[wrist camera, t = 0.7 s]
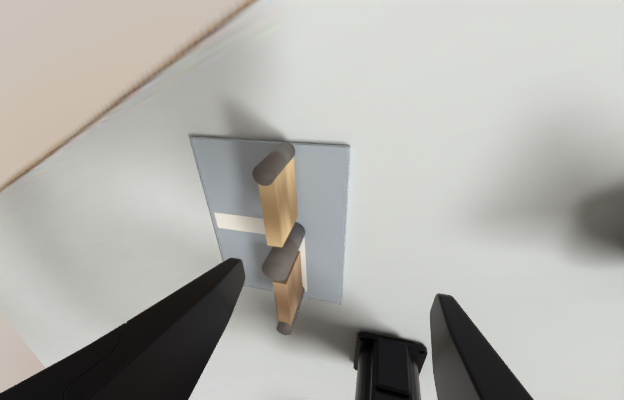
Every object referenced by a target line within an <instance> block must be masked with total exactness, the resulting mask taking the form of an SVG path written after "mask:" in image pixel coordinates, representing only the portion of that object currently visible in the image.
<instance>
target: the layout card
mask: <svg viewBox="0 0 624 400" xmlns="http://www.w3.org/2000/svg"><path fill="white" fill-rule="evenodd" d="M190 140H191V144H192V147H193V151H194V155H195V158H196V162H197V166H198V169H199V173H200V177H201V180H202V184H203V188H204V191H205V195H206V199H207V202H208V206H209V209H210V213H211V217H212V220H213V224H214V228H215V231H216V235H217V239H218V242H219V246H220V250H221V253H222V257H223V260H224V261H225V260H227V259H229V258H238V259H241V260H242V262H243V266H244V271H245V282H244V285H243V286H248V287H254V288H259V289H264V290H269V291H274V287H273V281H274V280H272V279H270V278H268V277H267V276H266V275H265V274H264V273H263V271H262V265H263V263H264V261H265V259H266V257H267V256H268V254H269V252H270V250H271V249H272V247H273V246H269V245H267V239H266V233H265V226H264V219H263V212H262V206H261V199H260V192H259V185H258V183H257V182H256V181H255V180H254V178H253V175H252V172H253V169H254V168H255V167H256V166H257V165H258V164H259V163H260V162H261V161H262V160H263V159H264V158H265V157H266V156H267V155H268V154H270V153H271V152H272V151H273V150H274V149H275V148H276V147H277V146H278V145H279V144H280V143H282V142H277V141H260V140H243V139H225V138H208V137H192V138H190ZM289 143H291V144H292V145H293V146H294V148H295V155H294V161H295V177H296V193H297V209H298V218H297V220H296V221H295V222H298V223H300V224H301V225H302V226H303V227H304V229H305V236H304V238H303V241H302V243H301V245H300V248H299V250H298V251H300V256H301V272H302V286H303V287H304V289H305V292H304V295H303V297H305V298H310V299H315V300H320V301H326V302H331V303H336V304H341V302H342V287H343V268H344V250H345V232H346V214H347V196H348V177H349V159H350V146H346V145H329V144H312V143H294V142H289Z"/></svg>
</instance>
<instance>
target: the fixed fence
mask: <svg viewBox="0 0 624 400" xmlns="http://www.w3.org/2000/svg"><path fill="white" fill-rule="evenodd" d="M304 236H305V229H304V227H303V226H302V225H301V224H300V223H298V222H295V223H294V225H293V227H292V229H291V231H290V233H289V235H288V237H287V239H286V241H285V243H284V245H283V247H275V246H273V247H272V249H271V250H270V252H269V254H268V256H267V257H266V259H265V261H264V263H263V265H262V271H263V273H264V274H265V275H266V276H267V277H268V278H270V279H272V280H274V281H273V287H274V293H275V300H276V307H277V314H278V320H279V323H278V326H277V330H278V332H280V333H281V334H284V335H289V334H291V331H292V328H293V325H294V322H295V319H296V316H297V313H298V310H299V307H300V304H301V301H302V298H303V295H304V292H305V289H304V287H303V286H302V272H301V256H300V251H298V250H299V248H300V245H301V243H302V241H303V238H304Z"/></svg>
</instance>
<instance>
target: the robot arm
mask: <svg viewBox="0 0 624 400" xmlns="http://www.w3.org/2000/svg"><path fill="white" fill-rule="evenodd" d="M244 282H245V271H244V266H243V262H242V260H241V259H238V258H229V259H227V260H225V261H224V262H222V263H220V264H219V265H217V266H216V267H214V268H212V269H211V270H209V271H208V272H206V273H204V274H203V275H201V276H200V277H198V278H196V279H195V280H193V281H192V282H190V283H188V284H187V285H185V286H183V287H182V288H180V289H179V290H177V291H175V292H174V293H172V294H171V295H169V296H167V297H166V298H164V299H163V300H161V301H159V302H158V303H156V304H155V305H153V306H151V307H150V308H148V309H146V310H145V311H143V312H142V313H140V314H138V315H137V316H135V317H134V318H132V319H130V320H129V321H127V323H124V324H122V325H121V326H119V327H117V328H116V329H114V330H113V331H111V332H109V333H108V334H106V335H104V336H103V337H101V338H99V339H98V340H96V341H94V342H93V343H91V344H89V345H88V346H86V347H84V348H82V349H80V350H79V351H77V352H75V353H73V354H72V355H70V356H68V357H66V358H64V359H63V360H61V361H59V362H57V363H55V364H53V365H52V366H50V367H48V368H46V369H44V370H42V371H41V372H39V373H37V374H35V375H33V376H31V377H30V378H28V379H26V380H24V381H22V382H21V383H19V384H17V385H15V386H13V387H11V388H9V389H8V390H6V391H4V392H2V393H0V400H188V399H189V397H190V395H191V393H192V391H193V389H194V388H195V386H196V384H197V382H198V380H199V378H200V376H201V374H202V372H203V370H204V368H205V366H206V364H207V363H208V361H209V359H210V357H211V355H212V353H213V351H214V349H215V347H216V345H217V343H218V341H219V340H220V338H221V336H222V334H223V332H224V330H225V328H226V326H227V324H228V322H229V320H230V317H231V315H232V312H233V310H234V307H235V305H236V302H237V300H238V297H239V295H240V292H241V290H242V287H243V285H244ZM430 328H431V345H432V362H433V373H434V380H435V386H436V392H437V398H438V400H533V398H532V397H531V396H530V394H529V393H528V392H527V391H526V389H525V388H524V387H523V386H522V384H521V383H520V382H519V380H518V379H517V378H516V377H515V375H514V374H513V373H512V372H511V370H510V369H509V368H508V366H507V365H506V364H505V363H504V361H503V360H502V359H501V357H500V356H499V355H498V354H497V352H496V351H495V350H494V349H493V347H492V346H491V345H490V343H489V342H488V341H487V340H486V338H485V337H484V336H483V335H482V333H481V332H480V331H479V329H478V328H477V327H476V326H475V324H474V323H473V322H472V321H471V319H470V318H469V317H468V315H467V314H466V313H465V312H464V310H463V309H462V308H461V306H460V305H459V304H458V303H457V301H456V300H455V299H454V298H453V297H452V296H450V295H445V294H440V293H439V294H437V295H436V296H435V299H434V302H433V305H432V308H431V311H430ZM426 356H427V348H426V347H425V346H423V345H419V344H414V343H410V342H405V341H400V340H396V339H391V338H386V337H382V336H377V335H372V334H368V333H363V332H359V333H358V334H357V341H356V350H355V359H354V369H355V370H357V371H358V372H357V383H356V394H355V400H421V394H420V384H419V374H420V372H421V369H422V366H423V364H424V361H425V358H426Z"/></svg>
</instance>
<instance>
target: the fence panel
mask: <svg viewBox="0 0 624 400" xmlns="http://www.w3.org/2000/svg"><path fill="white" fill-rule="evenodd" d="M294 155H295V148H294V146H293V145H292V144H291V143H289V142H282V143H280V144H279V145H278V146H277V147H276V148H275V149H274V150H273V151H272V152H271V153H270V154H268V155H267V156H266V157H265V158H264V159H263V160H262V161H261V162H260V163H259V164H258V165H257V166H256V167H255V168H254V169H253V172H252V175H253V178H254V180H255V181H256V182H257V183H258V185H259V192H260V199H261V206H262V212H263V219H264V226H265V233H266V239H267V245H269V246H275V247H283V245H284V243H285V241H286V239H287V237H288V235H289V233H290V231H291V229H292V227H293V225H294V223H295V221H296V220H297V218H298V209H297V193H296V177H295V161H294Z"/></svg>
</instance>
